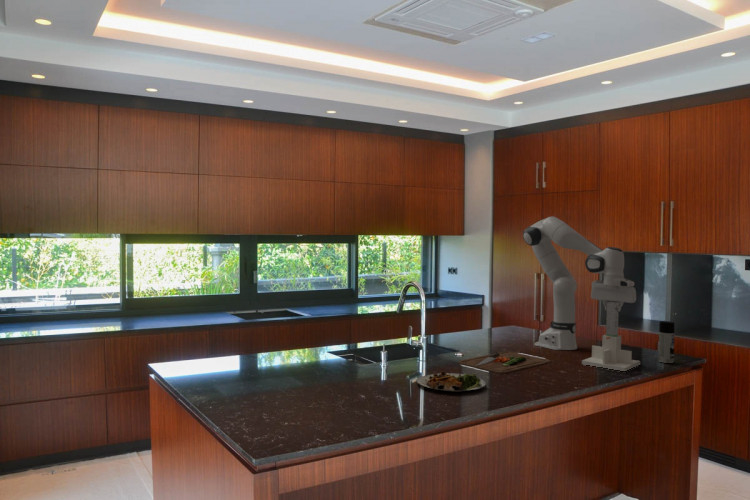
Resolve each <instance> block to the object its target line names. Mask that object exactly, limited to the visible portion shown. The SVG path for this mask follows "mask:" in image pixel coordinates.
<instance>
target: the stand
mask: <svg viewBox="0 0 750 500" xmlns="http://www.w3.org/2000/svg"><path fill="white" fill-rule="evenodd" d="M601 340H602V341H601V343H602V345H601V346H599V345H591V356H590V357H588V358H585V359H582V360H581V365H582V364H583V365H582V366H586V365H590V366H589V367H592V366H596V367H595V368H597V367H603V368H608V369H607V370H609V369H614V370H620V371H627V370H629V369H631V368H633V367H635V368H637V367H639V366H638V365H640V366H641V361H640V360H636V359H632V358H633V357H632V355H633V351H632V350H626V349H622V335H618V336H617V337H610V336H606V334H604V335H602V339H601ZM636 366H637V367H636ZM603 368H602V369H603ZM633 369H634V368H633ZM614 370H613V371H614ZM631 370H632V369H631ZM620 371H619V372H620ZM629 371H630V370H629ZM627 372H628V371H627Z"/></svg>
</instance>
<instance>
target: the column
mask: <svg viewBox="0 0 750 500" xmlns="http://www.w3.org/2000/svg"><path fill="white" fill-rule="evenodd" d="M606 304H607V310H606V320H605V321H606V322H605V323H606V325H605V327H606V328H605V329H606V331H605V335H606V336H610V337H617V336H619V311H616V310H617V309H616V307H619V305H620V304H619V302H617V301H607V302H606Z"/></svg>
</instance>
